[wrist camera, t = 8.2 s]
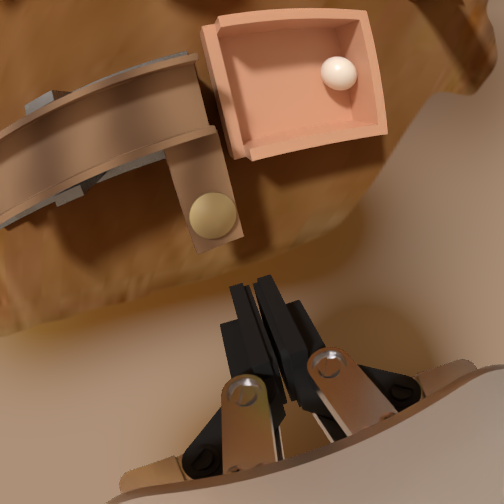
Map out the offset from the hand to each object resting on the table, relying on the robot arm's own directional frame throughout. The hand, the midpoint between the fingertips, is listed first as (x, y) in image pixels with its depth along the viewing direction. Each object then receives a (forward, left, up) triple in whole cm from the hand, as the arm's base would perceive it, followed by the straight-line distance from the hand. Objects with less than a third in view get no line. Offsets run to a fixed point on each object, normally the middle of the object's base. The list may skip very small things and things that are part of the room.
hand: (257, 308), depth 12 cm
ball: (-14, -9, -16) cm, 23 cm away
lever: (+10, -4, -12) cm, 16 cm away
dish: (-10, -9, -18) cm, 22 cm away
